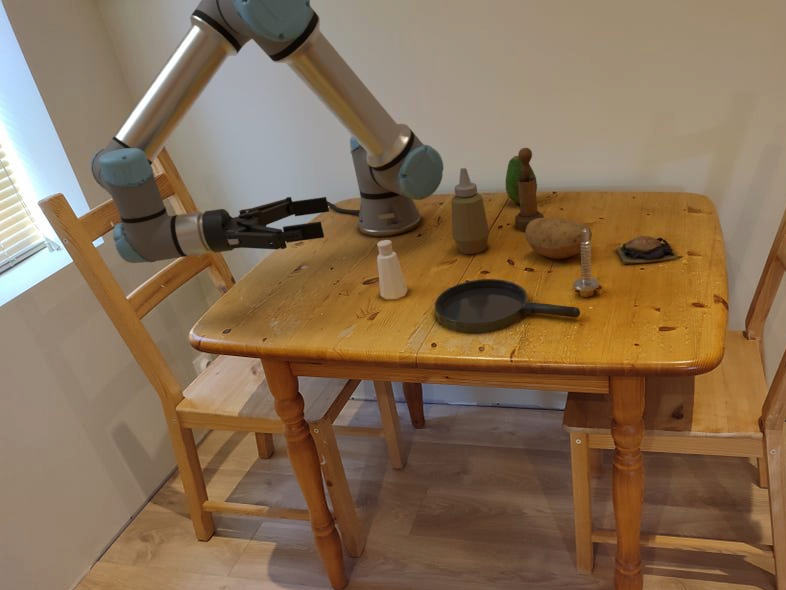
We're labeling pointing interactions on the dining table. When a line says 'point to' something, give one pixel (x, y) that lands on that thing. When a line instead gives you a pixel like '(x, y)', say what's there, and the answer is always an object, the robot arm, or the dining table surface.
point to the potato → (555, 237)
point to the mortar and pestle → (526, 193)
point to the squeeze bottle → (469, 217)
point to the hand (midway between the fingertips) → (325, 216)
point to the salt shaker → (390, 272)
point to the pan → (481, 305)
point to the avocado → (515, 178)
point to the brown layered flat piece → (645, 250)
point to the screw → (586, 269)
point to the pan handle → (550, 309)
